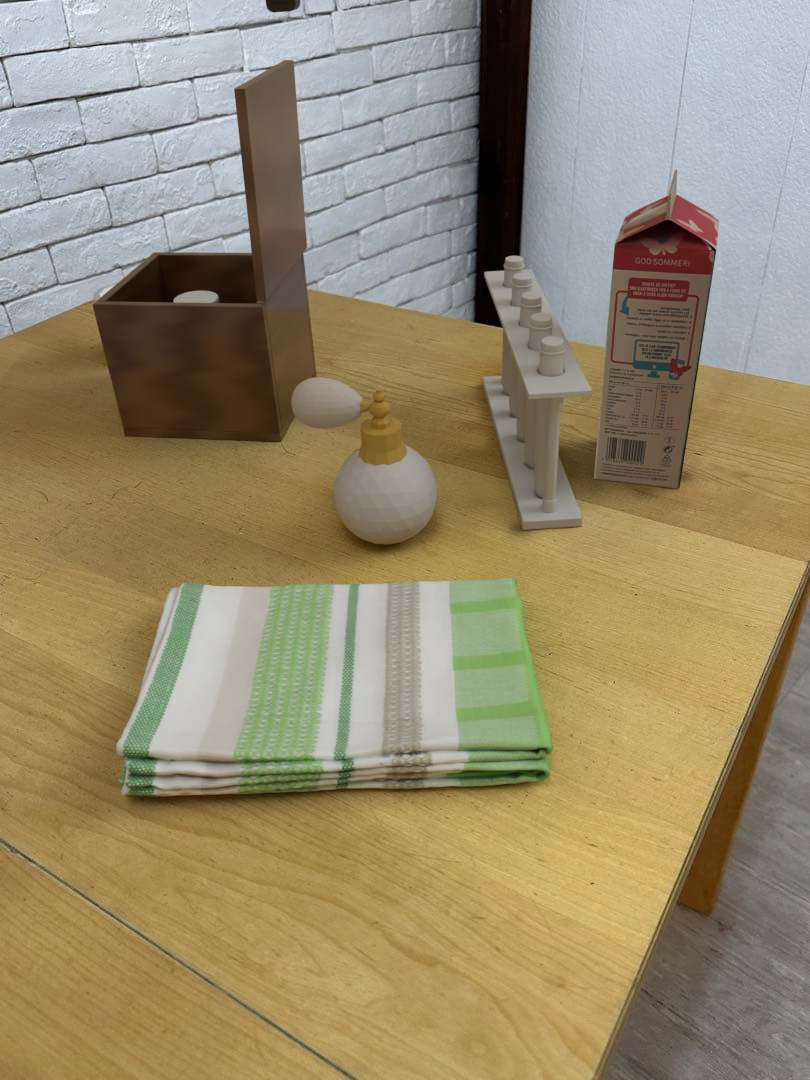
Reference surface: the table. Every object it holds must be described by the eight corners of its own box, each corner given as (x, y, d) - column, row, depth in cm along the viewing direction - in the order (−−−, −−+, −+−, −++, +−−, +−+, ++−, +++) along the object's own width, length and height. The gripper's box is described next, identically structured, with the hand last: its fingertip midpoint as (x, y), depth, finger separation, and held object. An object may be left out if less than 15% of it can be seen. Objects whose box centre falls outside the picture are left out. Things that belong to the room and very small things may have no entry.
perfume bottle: (446, 555, 65) (442, 404, 58) (310, 570, 64) (290, 419, 57) (430, 500, 71) (425, 356, 64) (306, 513, 70) (287, 369, 63)
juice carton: (593, 478, 72) (619, 192, 60) (604, 439, 77) (629, 168, 65) (679, 488, 70) (724, 196, 58) (684, 447, 76) (726, 171, 63)
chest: (124, 435, 82) (91, 304, 75) (178, 372, 93) (153, 252, 86) (280, 442, 80) (262, 307, 72) (316, 375, 90) (303, 252, 83)
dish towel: (176, 604, 61) (166, 563, 59) (515, 587, 61) (516, 545, 59) (116, 812, 47) (100, 767, 45) (556, 791, 47) (559, 744, 45)
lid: (233, 88, 63) (244, 88, 63) (284, 59, 74) (293, 60, 74) (256, 301, 72) (266, 301, 72) (298, 247, 83) (307, 248, 83)
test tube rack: (482, 384, 87) (483, 246, 80) (527, 381, 87) (533, 243, 80) (522, 530, 67) (529, 364, 59) (581, 526, 67) (596, 360, 59)
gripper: (220, -287, 62) (260, 5, 72) (147, -324, 52) (205, 24, 61) (326, -300, 61) (352, -1, 71) (274, -340, 50) (312, 18, 60)
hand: (284, 10), depth 66 cm, fingers closed
